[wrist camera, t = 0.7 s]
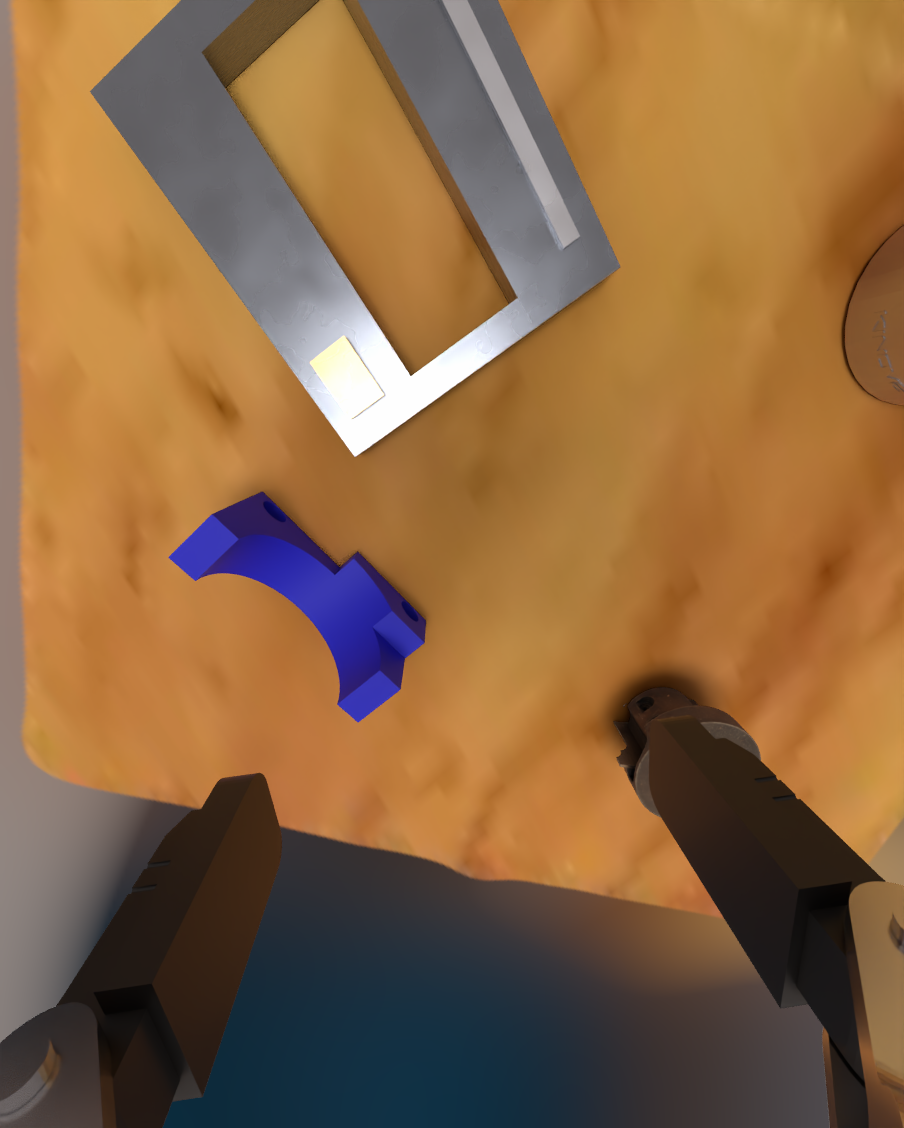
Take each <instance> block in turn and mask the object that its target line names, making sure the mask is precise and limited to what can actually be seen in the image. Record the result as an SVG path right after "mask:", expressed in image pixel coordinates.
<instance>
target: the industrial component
mask: <svg viewBox="0 0 904 1128" xmlns="http://www.w3.org/2000/svg"><path fill="white" fill-rule="evenodd" d="M626 704H627V703H626ZM626 704H625V705H626ZM623 707H624V705H623ZM628 709H629V711H630V720H629V722H628V723H627V722H617V721H613V722H614V724H615V726H616V728H617V730H618V731H619V733H620V735H621V737H622V738H623V740H624V742H625V744H626V745H627V748H626V749H624V750H621V755H620V756H619V757H616V758H617V761H618V763H619V765H620V767H624V769H625V771H626V773H627V776H628V778H629V780H630V782H631V784H632V786H633V788H634V790H635V792H636V794H637V795H638V797H639V799H640V801H641V803H642V804H643V805H644V806H645V807H646V808H647V809H648V810H649V811H650V812H652V813H653V814H655V815H657V816H659V817H661V816H660V814H659V813H658V811H657V809H656V806H655V804H654V801H653V799H652V795H651V791H650V786H649V742H650V725H651V722H652V721H653V720H657V719H664V718H672V717H679V716H686V715H691V716H693V717H694V718H696V719H697V720H698V721H699V722H700V723H701V724H702V725H703V726H704V727H705V728H706V729H707V731H708V732H709V733H710V734H711V735H712V736H713V737H714V738H715V739H719V738H727V739H728V740H730V741H732V742H734V743H735V744H737V745H739V746H740V747H742V748H744V749H746V750H747V751H749V752H751V753H753V754H754V755H755V756H756V757H757V758H758V759H759V760H760V761H761V757H760V752H759V749H758V746H757V744H756V743H755V741H754V740H753V738H752V737H751V736H750V735H749V734H748V733H747V732H746V731H745V730H744V729H743V728H742V727H741V726H740V725H739V724H738V723H737V722H736V720H735V719H733V718H732V717H731V716H730V715H728V714H727V713H725V712H723V711H721V710H719V709H716V708H712V707H707V706H699V705H698V704H697V703H696V702H695V701H694V700H689V699H687V697H686V696H685V695H683V694H682V693H681V692H679V691H677V690H675V689H672V688H666V687H665V688H664V687H661V688H653V689H650V690H647V691H644V692H643V693H641V694H639V695H638V696H636V697H635V698H634V699H633V700H632V701H631V702H630V703H629V704H628Z"/></svg>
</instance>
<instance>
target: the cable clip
mask: <svg viewBox="0 0 904 1128" xmlns="http://www.w3.org/2000/svg"><path fill="white" fill-rule="evenodd" d="M168 558H170V559H171V560H172V561H173V562H174V563H175V564H176V565H178V566H179V567H180V568H181V569H182V570H183V571H184V572H186V573H187V574H188V575H189V576H190V577H191V578H193V579H194V580H195V581H196V580H198V579H200V578H201V577H204V576H207V575H211V574H217V573H230V574H237V575H242V576H246V577H249V578H252V579H254V580H257V581H259V582H261V583H264V584H266V585H268V586H269V587H271V588H273V589H275V590H276V591H278V592H279V593H281V594H282V595H284V596H285V597H286V598H288V599H289V600H290V601H292V602H293V603H294V604H295V605H296V606H297V607H298V608H299V609H301V610H302V611H303V612H304V613H305V614H306V616H307V617H308V618H309V619H310V620H311V621H312V622H313V624H314V625H315V626H316V627H317V629H318V630H319V632H320V633H321V634H322V636H323V638H324V639H325V641H326V642H327V644H328V646H329V648H330V650H331V652H332V655H333V657H334V660H335V662H336V666H337V669H338V674H339V680H340V694H339V700H338V703H337V705H339V706H340V707H341V708H342V709H343V710H344V711H345V712H347V713H348V714H349V715H350V716H351V717H352V718H354V719H355V720H356V721H357V722H359V721H361V720H362V719H363V718H364V717H366V716H367V715H368V714H370V713H371V712H372V711H373V710H375V709H376V708H377V707H379V706H380V705H381V704H382V703H384V702H385V701H386V700H388V699H389V698H390V697H392V696H393V695H394V694H395V693H397V692H398V691H399V690H400V689H401V682H402V675H403V668H404V661H405V658H406V657H407V656H409V655H410V654H411V653H412V652H414V651H415V650H416V649H417V648H419V647H420V646H421V645H422V644H424V642H425V627H426V620H425V619H424V618H423V617H422V616H421V615H420V614H419V613H418V612H417V611H416V610H415V609H414V608H413V607H412V606H411V605H410V604H409V603H408V602H407V601H406V600H405V599H404V598H403V597H402V596H401V595H400V594H399V593H398V592H397V591H396V590H395V589H394V588H393V587H392V586H391V585H390V584H389V583H388V582H387V581H386V580H385V579H384V578H383V577H382V576H381V575H380V574H379V573H378V572H377V571H376V570H375V569H374V568H373V567H372V566H371V565H370V564H369V563H368V562H367V561H366V560H365V559H364V557H363V556H362V555H361V554H360V553H359V552H357V553H356V554H354V555H353V556H352V557H351V558H350V559H349V560H348V561H346V562H345V563H344V564H343V565H342V566H341V567H339V566H338V565H337V564H336V563H335V562H334V561H333V560H331V559H330V558H329V557H328V556H327V555H326V554H325V553H324V552H323V551H322V550H321V549H320V548H319V547H318V546H317V545H316V544H315V543H314V542H313V541H312V540H311V539H310V538H309V537H308V536H307V535H306V534H305V533H304V532H303V531H302V530H301V529H300V528H299V527H298V526H297V525H296V524H295V523H294V522H293V521H292V520H291V519H290V518H289V517H288V516H287V515H286V514H285V513H284V512H283V511H282V510H281V509H280V508H279V507H278V506H277V505H276V504H275V503H274V502H273V501H272V500H271V499H270V498H269V497H268V496H266V495H265V494H264V493H263V492H260V493H258V494H256V495H254V496H251V497H249V498H247V499H245V500H243V501H240V502H238V503H236V504H234V505H231V506H229V507H227V508H225V509H223V510H220V511H218V512H216V513H214V514H212V515H211V516H210V517H209V518H208V519H207V520H206V521H205V522H204V523H203V524H202V525H201V526H200V527H199V528H198V529H197V530H196V531H195V532H194V533H193V534H192V535H191V536H190V537H189V538H188V539H187V540H186V541H185V542H184V543H182V544H181V545H180V546H179V547H178V548H177V549H176V550H175V551H174V552H173V553H172V554H171V555H170V556H169V557H168Z"/></svg>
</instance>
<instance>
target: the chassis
mask: <svg viewBox="0 0 904 1128" xmlns="http://www.w3.org/2000/svg"><path fill="white" fill-rule="evenodd" d="M317 1H318V0H181V1H180V2H179V3H178V4H177V5H176V6H175V7H174V8H173V9H172V10H171V11H170V12H169V13H168V14H167V15H166V16H165V17H164V18H163V19H162V20H161V21H160V22H159V23H158V24H157V25H156V26H155V27H154V28H153V29H152V30H151V31H150V32H149V33H148V34H147V35H146V36H145V37H144V38H143V39H142V40H141V41H140V42H139V43H138V44H137V45H136V46H135V47H134V48H133V49H132V50H131V51H130V52H129V53H128V54H127V55H126V56H125V57H124V58H123V59H122V60H121V61H120V62H119V63H118V64H117V65H116V66H115V67H114V68H113V69H112V70H111V71H110V72H109V73H108V74H107V75H106V76H105V77H104V78H103V79H102V80H101V81H100V82H99V83H98V84H97V85H96V86H95V87H94V88H93V89H92V90H91V91H90V92H91V94H92V95H93V96H94V98H95V99H96V100H97V102H98V103H99V105H100V106H101V107H102V109H103V110H104V111H105V113H106V114H107V116H108V117H109V118H110V120H111V121H112V122H113V124H114V125H115V127H116V128H117V129H118V131H119V132H120V134H121V135H122V136H123V138H124V139H125V140H126V142H127V143H128V145H129V146H130V147H131V149H132V150H133V151H134V153H135V154H136V156H137V157H138V158H139V160H140V161H141V162H142V164H143V165H144V167H145V168H146V169H147V171H148V172H149V174H150V175H151V176H152V178H153V179H154V180H155V182H156V183H157V185H158V186H159V187H160V189H161V190H162V191H163V193H164V194H165V196H166V197H167V198H168V200H169V201H170V202H171V204H172V205H173V207H174V208H175V209H176V211H177V212H178V214H179V215H180V216H181V218H182V219H183V220H184V222H185V223H186V225H187V226H188V227H189V229H190V230H191V231H192V233H193V234H194V236H195V237H196V238H197V240H198V241H199V243H200V244H201V245H202V247H203V248H204V249H205V251H206V252H207V254H208V255H209V256H210V258H211V259H212V260H213V262H214V263H215V265H216V266H217V267H218V269H219V270H220V271H221V273H222V274H223V276H224V277H225V278H226V280H227V281H228V283H229V284H230V285H231V287H232V288H233V289H234V291H235V292H236V294H237V295H238V296H239V298H240V299H241V300H242V302H243V303H244V305H245V306H246V307H247V309H248V310H249V311H250V313H251V314H252V316H253V317H254V318H255V320H256V321H257V323H258V324H259V325H260V327H261V328H262V329H263V331H264V332H265V334H266V335H267V336H268V338H269V339H270V340H271V342H272V343H273V345H274V346H275V347H276V349H277V350H278V351H279V353H280V354H281V356H282V357H283V358H284V360H285V361H286V363H287V364H288V365H289V367H290V368H291V369H292V371H293V372H294V374H295V375H296V376H297V378H298V379H299V380H300V382H301V383H302V385H303V386H304V387H305V389H306V390H307V392H308V393H309V394H310V396H311V397H312V398H313V400H314V401H315V403H316V404H317V405H318V407H319V408H320V409H321V411H322V412H323V414H324V415H325V416H326V418H327V419H328V420H329V422H330V423H331V425H332V426H333V427H334V429H335V430H336V432H337V433H338V434H339V436H340V437H341V438H342V440H343V441H344V443H345V444H346V445H347V447H348V448H349V449H350V451H351V452H352V454H353V455H354V456H355V457H356V456H358V455H360V454H362V453H363V452H364V451H366V450H367V449H369V448H370V447H371V446H373V445H374V444H376V443H377V442H378V441H380V440H381V439H383V438H384V437H385V436H387V435H388V434H390V433H391V432H392V431H394V430H395V429H397V428H398V427H399V426H401V425H402V424H404V423H405V422H406V421H408V420H409V419H411V418H412V417H413V416H415V415H416V414H418V413H419V412H420V411H422V410H423V409H425V408H426V407H427V406H429V405H430V404H432V403H433V402H434V401H436V400H437V399H439V398H440V397H441V396H443V395H444V394H446V393H447V392H448V391H450V390H451V389H452V388H454V387H455V386H457V385H458V384H459V383H461V382H462V381H464V380H465V379H466V378H468V377H469V376H471V375H472V374H473V373H475V372H476V371H478V370H479V369H480V368H482V367H483V366H485V365H486V364H487V363H489V362H490V361H492V360H493V359H494V358H496V357H497V356H499V355H500V354H501V353H503V352H504V351H506V350H507V349H508V348H510V347H511V346H513V345H514V344H515V343H517V342H518V341H520V340H521V339H522V338H524V337H525V336H527V335H528V334H529V333H531V332H532V331H534V330H535V329H536V328H538V327H539V326H541V325H542V324H543V323H545V322H546V321H548V320H549V319H550V318H552V317H553V316H555V315H556V314H557V313H559V312H560V311H562V310H563V309H564V308H566V307H567V306H568V305H570V304H571V303H573V302H574V301H575V300H577V299H578V298H580V297H581V296H582V295H584V294H585V293H587V292H588V291H589V290H591V289H592V288H594V287H595V286H596V285H598V284H599V283H601V282H602V281H603V280H605V279H606V278H607V277H609V276H610V275H611V274H612V273H614V272H615V271H616V270H617V269H618V268H620V265H619V262H618V260H617V258H616V256H615V254H614V252H613V249H612V247H611V245H610V243H609V241H608V239H607V236H606V234H605V232H604V230H603V228H602V226H601V223H600V221H599V219H598V217H597V215H596V213H595V210H594V208H593V206H592V204H591V202H590V200H589V197H588V195H587V193H586V191H585V189H584V187H583V184H582V182H581V180H580V178H579V176H578V173H577V171H576V169H575V167H574V165H573V163H572V160H571V158H570V156H569V154H568V152H567V150H566V147H565V145H564V143H563V141H562V139H561V137H560V134H559V132H558V130H557V128H556V126H555V124H554V121H553V119H552V117H551V115H550V113H549V111H548V108H547V106H546V104H545V102H544V100H543V97H542V95H541V93H540V91H539V89H538V87H537V84H536V82H535V80H534V78H533V76H532V74H531V71H530V69H529V67H528V65H527V63H526V61H525V58H524V56H523V54H522V52H521V50H520V48H519V45H518V43H517V41H516V39H515V37H514V35H513V32H512V30H511V28H510V26H509V24H508V21H507V19H506V17H505V15H504V13H503V11H502V8H501V6H500V4H499V2H498V0H343V1H344V3H345V5H346V6H347V8H348V10H349V12H350V14H351V15H352V17H353V19H354V21H355V23H356V25H357V26H358V28H359V30H360V32H361V34H362V36H363V37H364V39H365V41H366V43H367V45H368V47H369V48H370V50H371V52H372V54H373V56H374V58H375V59H376V61H377V63H378V65H379V67H380V69H381V70H382V72H383V74H384V76H385V78H386V80H387V81H388V83H389V85H390V87H391V89H392V90H393V92H394V94H395V96H396V98H397V100H398V101H399V103H400V105H401V107H402V109H403V111H404V112H405V114H406V116H407V118H408V120H409V122H410V123H411V125H412V127H413V129H414V131H415V133H416V134H417V136H418V138H419V140H420V142H421V144H422V145H423V147H424V149H425V151H426V153H427V154H428V156H429V158H430V160H431V162H432V164H433V165H434V167H435V169H436V171H437V173H438V175H439V176H440V178H441V180H442V182H443V184H444V186H445V187H446V189H447V191H448V193H449V195H450V197H451V198H452V200H453V202H454V204H455V206H456V208H457V209H458V211H459V213H460V215H461V217H462V218H463V220H464V222H465V224H466V226H467V228H468V229H469V231H470V233H471V235H472V237H473V239H474V240H475V242H476V244H477V246H478V248H479V250H480V251H481V253H482V255H483V257H484V259H485V261H486V262H487V264H488V266H489V268H490V270H491V272H492V273H493V275H494V277H495V279H496V281H497V283H498V284H499V286H500V288H501V290H502V292H503V293H504V295H505V297H506V299H507V301H508V303H509V305H508V306H506V307H505V308H503V309H502V310H501V311H499V312H498V313H497V314H495V315H494V316H493V317H491V318H490V319H488V320H487V321H486V322H484V323H483V324H482V325H480V326H479V327H478V328H476V329H475V330H473V331H472V332H471V333H469V334H468V335H467V336H465V337H464V338H463V339H461V340H460V341H458V342H457V343H456V344H454V345H453V346H452V347H450V348H449V349H448V350H446V351H445V352H443V353H442V354H441V355H439V356H438V357H437V358H435V359H434V360H433V361H431V362H430V363H429V364H427V365H426V366H424V367H423V368H422V369H420V370H419V371H418V372H416V373H415V374H414V375H412V376H410V374H409V373H408V371H407V369H406V368H405V366H404V365H403V363H402V362H401V360H400V359H399V357H398V355H397V354H396V352H395V351H394V349H393V348H392V346H391V345H390V343H389V342H388V340H387V338H386V337H385V335H384V334H383V332H382V331H381V329H380V328H379V326H378V324H377V323H376V321H375V320H374V318H373V317H372V315H371V314H370V312H369V310H368V309H367V307H366V306H365V304H364V303H363V301H362V300H361V298H360V296H359V295H358V293H357V292H356V290H355V289H354V287H353V286H352V284H351V283H350V281H349V279H348V278H347V276H346V275H345V273H344V272H343V270H342V269H341V267H340V265H339V264H338V262H337V261H336V259H335V258H334V256H333V255H332V253H331V251H330V250H329V248H328V247H327V245H326V244H325V242H324V241H323V239H322V237H321V236H320V234H319V233H318V231H317V230H316V228H315V227H314V225H313V224H312V222H311V220H310V219H309V217H308V216H307V214H306V213H305V211H304V210H303V208H302V206H301V205H300V203H299V202H298V200H297V199H296V197H295V196H294V194H293V192H292V191H291V189H290V188H289V186H288V185H287V183H286V182H285V180H284V178H283V177H282V175H281V174H280V172H279V171H278V169H277V168H276V166H275V165H274V163H273V161H272V160H271V158H270V157H269V155H268V154H267V152H266V151H265V149H264V147H263V146H262V144H261V143H260V141H259V140H258V138H257V137H256V135H255V133H254V132H253V130H252V129H251V127H250V126H249V124H248V123H247V121H246V119H245V118H244V116H243V115H242V113H241V112H240V110H239V109H238V107H237V106H236V104H235V102H234V101H233V99H232V98H231V96H230V95H229V93H228V92H227V90H226V88H225V87H226V86H227V85H228V84H229V83H231V82H232V81H233V80H234V79H235V78H236V77H237V76H238V75H239V74H240V73H241V72H242V71H243V70H244V69H246V68H247V67H248V66H249V65H250V64H251V63H252V62H253V61H254V60H255V59H256V58H257V57H258V56H259V55H260V54H262V53H263V52H264V51H265V50H266V49H267V48H268V47H269V46H270V45H271V44H272V43H273V42H274V41H275V40H276V39H278V38H279V37H280V36H281V35H282V34H283V33H284V32H285V31H286V30H287V29H288V28H289V27H290V26H291V25H292V24H294V23H295V22H296V21H297V20H298V19H299V18H300V17H301V16H302V15H303V14H304V13H305V12H306V11H307V10H308V9H310V8H311V7H312V6H313V5H314V4H315V3H316V2H317Z"/></svg>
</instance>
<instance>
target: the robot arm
mask: <svg viewBox="0 0 904 1128" xmlns="http://www.w3.org/2000/svg"><path fill="white" fill-rule="evenodd" d="M845 348H846V353H847V358H848V363H849V366H850V368H851V370H852V372H853V374H854V376H855V378H856V380H857V381H858V382H859V383H860V384H861V385H862V387H863V388H864V389H865V390H866V391H867V392H868V393H870V394H872V395H873V396H875V397H876V398H878V399H879V400H882V401H885V402H889V403H892V404H896V405H904V225H903V226H902V227H901V228H900V229H899V230H898V231H897V232H896V233H895V234H893V235H892V236H891V237H890V238H889V239H888V240H887V241H886V242H885V243H884V244H883V246H882V247H881V248H880V249H879V251H878V252H877V253H876V254H875V256H874V257H873V258H872V259H871V261H870V262H869V264H868V266H867V267H866V269H865V271H864V273H863V274H862V276H861V278H860V279H859V281H858V283H857V286H856V289H855V291H854V294H853V296H852V299H851V302H850V304H849V309H848V314H847V319H846V324H845ZM649 786H650V791H651V795H652V799H653V801H654V804H655V806H656V809H657V811H658V813H659V814H660V816H661V818H662V819H663V821H664V822H665V824H666V826H667V827H668V829H669V831H670V832H671V834H672V835H673V837H674V839H675V840H676V842H677V843H678V845H679V847H680V848H681V850H682V851H683V853H684V855H685V856H686V858H687V859H688V861H689V863H690V864H691V866H692V867H693V869H694V871H695V872H696V874H697V875H698V877H699V879H700V880H701V882H702V883H703V885H704V887H705V888H706V890H707V892H708V893H709V895H710V896H711V898H712V900H713V901H714V903H715V904H716V906H717V908H718V909H719V911H720V912H721V914H722V916H723V917H724V919H725V920H726V922H727V924H728V925H729V927H730V928H731V930H732V932H733V933H734V935H735V936H736V938H737V940H738V941H739V943H740V944H741V946H742V948H743V949H744V951H745V952H746V954H747V956H748V957H749V959H750V961H751V962H752V964H753V965H754V967H755V969H756V970H757V972H758V973H759V975H760V977H761V978H762V980H763V981H764V983H765V985H766V986H767V988H768V989H769V991H770V993H771V994H772V996H773V997H774V999H775V1001H776V1002H777V1004H778V1005H779V1007H780V1008H787V1007H794V1006H800V1005H806V1004H808V1005H809V1006H810V1007H811V1009H812V1010H813V1012H814V1013H815V1015H816V1016H817V1018H818V1019H819V1021H820V1022H821V1024H822V1025H823V1032H822V1046H823V1058H824V1069H825V1080H826V1091H827V1102H828V1114H829V1125H830V1128H904V886H903V885H899V884H894V883H889V882H886V881H885V880H883V878H881V877H880V876H879V875H878V874H877V873H876V872H875V871H874V870H873V869H872V868H871V867H870V866H869V865H868V864H867V863H866V862H865V861H864V860H863V859H862V858H861V857H859V856H858V855H857V854H856V853H855V852H854V851H853V850H852V849H851V848H850V847H849V846H848V845H847V844H846V843H845V842H844V841H843V840H842V839H841V838H840V837H839V836H838V835H837V834H836V833H835V832H834V831H833V830H832V829H831V828H830V827H828V826H827V825H826V824H825V823H824V822H823V821H822V820H821V819H820V818H819V817H818V816H817V815H816V814H815V813H814V812H813V811H812V810H811V809H810V808H809V807H808V806H807V805H806V804H805V803H804V802H803V801H802V800H801V799H797V798H796V796H795V794H794V793H793V792H792V791H791V790H790V789H789V788H788V787H787V786H786V785H785V784H784V783H783V782H782V781H781V780H777V778H776V775H775V774H774V773H773V772H772V771H771V770H770V769H769V768H767V767H766V766H765V765H764V764H763V763H762V762H761V761H760V760H759V759H758V758H757V757H756V756H755V755H754V754H753V753H751V752H749V751H747V750H746V749H744V748H742V747H740V746H739V745H737V744H735V743H734V742H732V741H730V740H728V739H727V738H719V739H715V738H714V737H713V736H712V735H711V734H710V733H709V732H708V731H707V729H706V728H705V727H704V726H703V725H702V724H701V723H700V722H699V721H698V720H697V719H696V718H694V717H693V716H691V715H686V716H679V717H672V718H664V719H657V720H653V721H652V722H651V725H650V742H649ZM281 838H282V837H281V830H280V827H279V823H278V820H277V816H276V813H275V809H274V805H273V802H272V798H271V795H270V791H269V788H268V784H267V781H266V778H265V777H264V775H263V774H261V773H256V774H249V775H241V776H234V777H227V778H222V779H220V780H219V781H218V782H217V783H216V785H215V787H214V788H213V790H212V792H211V793H210V795H209V797H208V798H207V800H206V802H205V804H204V805H203V807H202V809H200V810H193V811H191V812H189V813H188V814H187V815H186V817H184V818H183V819H182V820H181V821H180V822H179V823H178V824H177V825H176V826H175V827H174V828H173V829H172V830H171V831H170V832H169V833H168V834H167V835H166V836H165V838H164V839H163V840H162V842H161V844H160V845H159V847H158V848H157V850H156V851H155V853H154V855H153V856H152V858H151V859H150V861H149V862H148V868H147V869H144V870H143V872H142V873H141V875H140V876H139V878H138V880H137V881H136V883H135V884H134V886H133V887H132V893H131V894H128V895H127V897H126V898H125V900H124V901H123V903H122V905H121V906H120V908H119V910H118V911H117V913H116V914H115V916H114V917H113V919H112V920H111V922H110V924H109V925H108V927H107V928H106V930H105V931H104V933H103V934H102V936H101V938H100V939H99V941H98V942H97V944H96V946H95V947H94V949H93V950H92V952H91V953H90V955H89V956H88V958H87V960H86V961H85V963H84V964H83V966H82V967H81V969H80V970H79V972H78V973H77V975H76V977H75V978H74V980H73V981H72V983H71V984H70V986H69V988H68V989H67V991H66V993H65V994H64V995H63V997H62V998H61V1000H60V1001H59V1003H58V1004H57V1005H56V1007H53V1008H50V1009H48V1010H46V1011H44V1012H42V1013H40V1014H39V1015H37V1016H35V1017H33V1018H32V1019H30V1020H28V1021H27V1022H25V1023H24V1024H23V1025H22V1026H20V1027H19V1028H17V1029H16V1030H14V1031H13V1032H12V1033H11V1034H10V1035H9V1036H7V1037H6V1038H5V1039H4V1040H3V1041H2V1042H0V1128H162V1127H163V1125H164V1122H165V1119H166V1117H167V1114H168V1111H169V1108H170V1106H171V1103H172V1102H173V1101H179V1100H185V1099H192V1098H198V1097H203V1094H204V1091H205V1088H206V1085H207V1082H208V1079H209V1076H210V1073H211V1070H212V1067H213V1063H214V1061H215V1057H216V1055H217V1052H218V1049H219V1046H220V1043H221V1040H222V1037H223V1033H224V1031H225V1027H226V1025H227V1022H228V1018H229V1015H230V1012H231V1009H232V1006H233V1003H234V1000H235V997H236V994H237V991H238V988H239V985H240V982H241V979H242V976H243V973H244V970H245V967H246V964H247V961H248V958H249V955H250V952H251V949H252V946H253V943H254V940H255V937H256V934H257V931H258V928H259V925H260V922H261V919H262V916H263V913H264V910H265V907H266V904H267V901H268V897H269V895H270V892H271V889H272V886H273V883H274V880H275V877H276V873H277V871H278V867H279V863H280V858H281V850H282V839H281Z"/></svg>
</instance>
